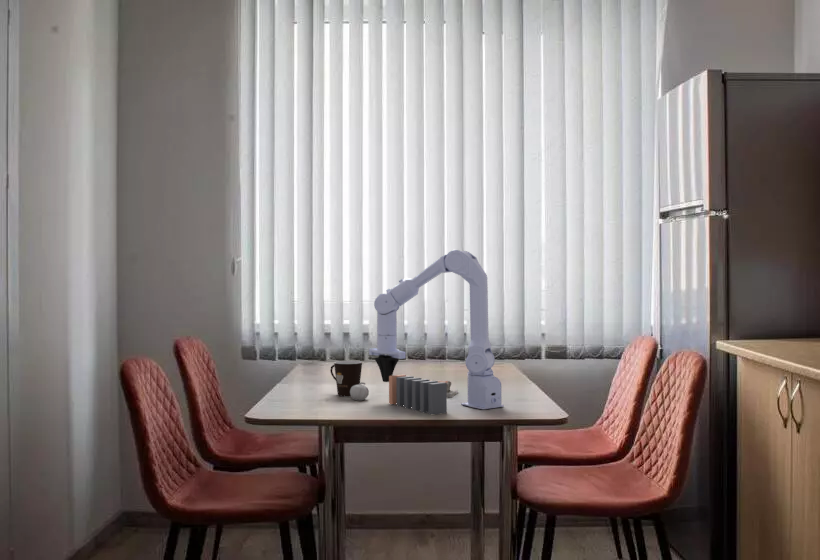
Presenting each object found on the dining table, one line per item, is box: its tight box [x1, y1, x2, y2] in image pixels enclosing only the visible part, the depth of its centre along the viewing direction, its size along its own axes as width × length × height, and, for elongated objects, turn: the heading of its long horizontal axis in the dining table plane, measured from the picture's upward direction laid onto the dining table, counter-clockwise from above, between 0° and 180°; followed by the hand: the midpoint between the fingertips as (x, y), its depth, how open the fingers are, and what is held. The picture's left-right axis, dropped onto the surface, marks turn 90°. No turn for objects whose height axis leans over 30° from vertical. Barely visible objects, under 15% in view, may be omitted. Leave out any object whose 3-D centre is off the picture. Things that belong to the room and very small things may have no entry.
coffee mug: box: [330, 360, 363, 397], centre depth 227 cm, size 12×9×10 cm
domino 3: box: [403, 376, 422, 409], centre depth 204 cm, size 2×5×8 cm, turn 125°
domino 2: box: [396, 375, 415, 407], centre depth 207 cm, size 2×5×8 cm, turn 125°
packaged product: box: [429, 379, 459, 398], centre depth 227 cm, size 18×5×10 cm
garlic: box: [350, 381, 370, 401], centre depth 217 cm, size 6×5×5 cm
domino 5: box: [419, 380, 439, 413], centre depth 198 cm, size 2×5×8 cm, turn 125°
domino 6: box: [428, 382, 448, 415], centre depth 195 cm, size 2×5×8 cm, turn 125°
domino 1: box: [388, 374, 407, 405], centre depth 210 cm, size 2×5×8 cm, turn 125°
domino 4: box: [411, 378, 431, 411], centre depth 201 cm, size 2×5×8 cm, turn 125°
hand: (386, 381), depth 215 cm, fingers closed
